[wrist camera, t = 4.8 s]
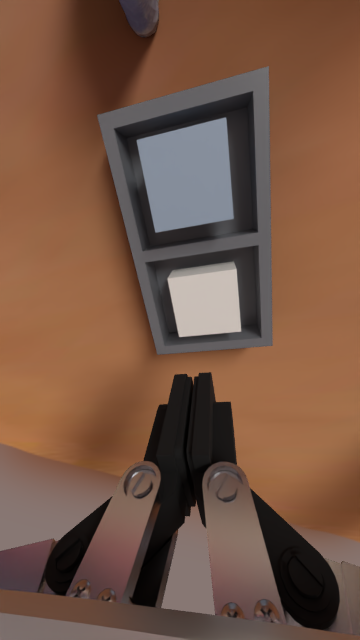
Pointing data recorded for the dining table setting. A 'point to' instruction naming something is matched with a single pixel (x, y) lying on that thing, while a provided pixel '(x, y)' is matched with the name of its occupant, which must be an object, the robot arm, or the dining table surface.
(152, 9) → the dark blue boxy piece
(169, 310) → the key panel
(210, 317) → the white key
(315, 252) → the dining table surface
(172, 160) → the blue key
